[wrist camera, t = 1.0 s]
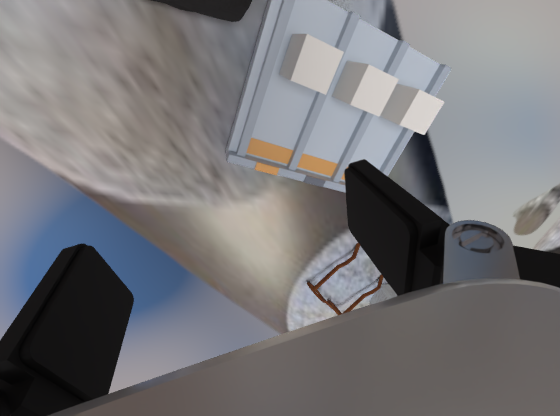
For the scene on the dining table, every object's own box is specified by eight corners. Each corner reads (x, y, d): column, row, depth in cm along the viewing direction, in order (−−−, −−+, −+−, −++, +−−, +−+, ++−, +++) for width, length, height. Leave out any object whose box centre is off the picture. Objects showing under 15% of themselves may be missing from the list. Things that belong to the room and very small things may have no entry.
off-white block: (347, 60, 30) (368, 64, 26) (374, 73, 32) (399, 79, 28) (331, 96, 32) (350, 104, 28) (358, 107, 34) (379, 116, 30)
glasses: (303, 278, 52) (311, 298, 48) (358, 240, 50) (372, 258, 46) (333, 305, 60) (343, 325, 56) (383, 273, 57) (397, 291, 53)
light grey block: (292, 34, 28) (307, 33, 24) (324, 49, 29) (343, 52, 25) (278, 74, 30) (290, 80, 25) (310, 87, 31) (325, 94, 27)
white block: (393, 82, 33) (419, 89, 29) (416, 94, 34) (444, 101, 30) (376, 114, 35) (399, 125, 31) (399, 124, 36) (424, 135, 32)
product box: (379, 283, 58) (399, 311, 52) (401, 282, 60) (423, 310, 54) (368, 302, 61) (386, 330, 55) (390, 301, 63) (409, 329, 57)
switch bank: (274, -24, 27) (283, -31, 24) (439, 68, 36) (461, 71, 33) (225, 151, 35) (227, 162, 32) (368, 190, 44) (380, 202, 41)
